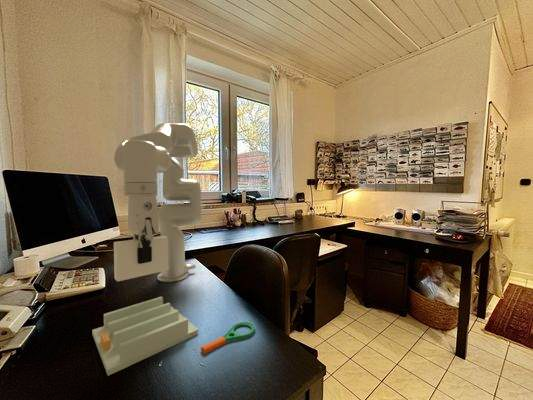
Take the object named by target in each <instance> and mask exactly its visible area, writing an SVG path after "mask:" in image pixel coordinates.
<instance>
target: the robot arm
mask: <svg viewBox="0 0 533 400" xmlns="http://www.w3.org/2000/svg"><path fill="white" fill-rule="evenodd" d="M196 137H197V136H196V134H195V130H194V129H193V127H192V126H190V125H189V124H188V123H175V122H174V123H173V122H161V123H159V124H157V125H155V127H154V128H153V129H152V130H151V131H150V132H148V133H143V134H141V135H135V136H132V137H129V138H127V139H124V140H123V141H122V142H121V143H120V144H118V146H117V147H116V149H115V151H114V156H113V157H114V158H113V161H114V164H115V166H116V167H117V169H118V170H119V171H122V172H123V187H124V189H123V193H124V197H128V200H127V201H128V202H127V204H128V205H127V206H128V208H127V222H128V230H129V232H130V233H132V237H133V238H132V240H134V239H138V240H139V248H137V255H138V263H139V264H142V263H147V262H151V261H152V239H153V237H154V235H158V234H159V233H160V236H166V237H168V270H166V271H162V272H159V274H158V275H157V277H156V278H157V280H158V281H159V282H163V283H173V282H178V281H182V280H185V279H186V278H187V277H189V275H190V273H189V271H190V270H193V269H196V264H195V263H193V264H190V263H188V264H186V257H185V255H186V254H185V253H186V251H185V248H186V247H185V245H186V244H185V239H186V238H185V234H184V232H183V231H182V230H181V228H180V227H191V226H192V227H193V226H197V225H199V224H200V223H201V220H202V186H201V183H200V182H199V181H198V180H196V179H189V178H188V179H185V178H184V177H185V176H184V174H185V172H184V171H185V170H184V167H183V165H181V163H180V162H179V161H178V160H177V159H176V158H179V159H180V158H183V159H184V158H185V159H186V158H188V159H192V158H195V157H197V155H198V150H199V145H198V141H197V138H196ZM161 173H162V196H163V199H164V200H165V201H170V202H190V203H167V204H166V203H165V204H163V205H161V206H160V207H159V208H158V202H157V201H158V200H157V196H158V174H161ZM153 234H154V235H153ZM142 238H143V240H142Z"/></svg>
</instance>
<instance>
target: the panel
mask: <svg viewBox="0 0 533 400" xmlns="http://www.w3.org/2000/svg"><path fill="white" fill-rule="evenodd" d="M142 240H143V238H142ZM137 248H139V240H138V239H134V240H133V239H128V240H122V241H121V240H120V241H113V260H114V261H113V263H114V264H113V266H114V267H113V268H114V269H113V271H114V280H115V281H116V282H121V281H126V280H130V279H131V280H132V279H135V278H139V277H143V276H144V277H145V276H148V275H152V274H157V273H161V272H162V271H166V270H168V237H166V236H161V235H159V236H153V239H152V261H151V262H147V263H142V264H139V263H138V255H137Z"/></svg>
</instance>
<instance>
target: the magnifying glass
mask: <svg viewBox="0 0 533 400" xmlns="http://www.w3.org/2000/svg"><path fill="white" fill-rule="evenodd" d="M241 327H246V328H249V329H250V332H248V333H245V334H239V333H237V332H235V331H236V329H238V328H241ZM255 331H256V328H255V325H254V324H253V323H251V322H247V321H245V322H243V321H242V322H238V323H236V324H234V325H232V326H231V328H229V330H228V331H227V332H226V333H225V334H224V335H223V336H221V337H219V338H217V339H215V340H213V341H211V342H209V343H207V344H205V345H202V346H201V347H200V351H201V353H202V354H203V355H207V354H208V353H210V352H212V351H214V350H216V349H218V348H219V346H220V347H222V346H224V345H226V344H227V343H229V342H228V341H231V342H234V341H233V340H236V341H240V340H245V338H246V339H249V338H251V337H252V336H253V335H254V334H255ZM226 342H227V343H226ZM225 343H226V344H225ZM223 344H224V345H223ZM221 345H222V346H221ZM217 347H218V348H217ZM215 348H216V349H215Z"/></svg>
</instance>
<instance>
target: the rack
mask: <svg viewBox="0 0 533 400" xmlns="http://www.w3.org/2000/svg"><path fill="white" fill-rule="evenodd" d="M91 332H92V333H91V335H92V337H93V340H94V342H95V345H96V348H97V351H98V353H99V357H100V359H101V361H102V364H103V367H104V369H105V373H106V375H107V376H108V377H109V376H110V375H113V374H115V373H117V372H119V371H122V370H124V369H126V368H128V367H130V366H132V365H134V364H136V363H138V362H141V361H143V360H145V359H148V358H149V357H152V356H154V355H156V354H158V353H160V352H162V351H165V350H166V349H168V348H171V347H173V346H176V345H177V344H179V343H181V342H184V341H186V340H188V339H190V338H193V337H194V336H196V335H198V334H199V329H198V328H197V327H196V326H195V325H194V324H193V323H192V322H190V321H189V319H188V318H187V317H184V316H183V315H182V314H181V313H179V310H178V309H176V308H174V307H173V306H172V305H171V303H170V302H166V303H164V297H163V296H162V295H161V296H158V297H156V298H151V299H148V300H146V301H142V302H139V303H138V302H137V303H135V304H132V305H128V306H125V307H122V308H119V309H116V310H113V311H109V312H106V313H103V326H101V327H97V328H94V329H92V331H91Z"/></svg>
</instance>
